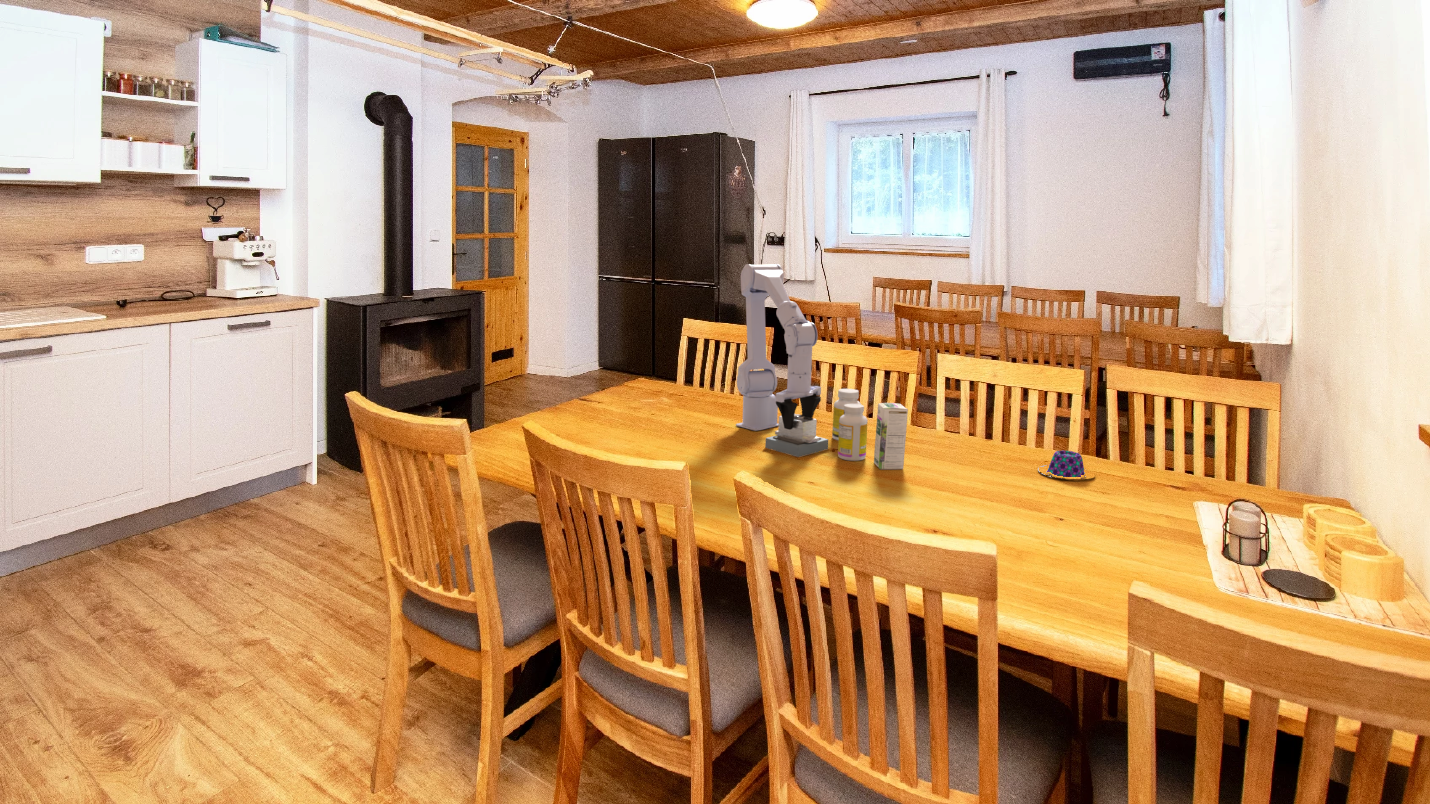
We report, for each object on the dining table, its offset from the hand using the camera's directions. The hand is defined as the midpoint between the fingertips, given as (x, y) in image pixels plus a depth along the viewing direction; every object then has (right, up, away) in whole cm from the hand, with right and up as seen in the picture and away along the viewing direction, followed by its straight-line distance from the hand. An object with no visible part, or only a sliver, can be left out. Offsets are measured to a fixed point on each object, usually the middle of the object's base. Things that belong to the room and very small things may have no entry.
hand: (797, 426), depth 208 cm
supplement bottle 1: (+14, -4, +11) cm, 18 cm away
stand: (0, -5, +1) cm, 6 cm away
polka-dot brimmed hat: (+59, -11, -16) cm, 63 cm away
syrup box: (+20, -9, -12) cm, 25 cm away
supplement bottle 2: (+12, -8, -6) cm, 16 cm away
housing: (0, -3, +1) cm, 3 cm away
